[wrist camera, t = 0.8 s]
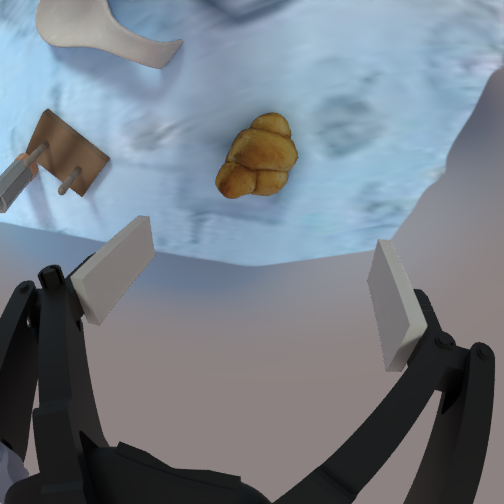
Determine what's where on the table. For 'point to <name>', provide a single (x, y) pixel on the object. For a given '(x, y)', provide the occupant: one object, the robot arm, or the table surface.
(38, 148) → the pin board
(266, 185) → the bread roll
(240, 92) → the table surface
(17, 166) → the sleeve
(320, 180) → the table surface
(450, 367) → the robot arm
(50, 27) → the spoon rest
